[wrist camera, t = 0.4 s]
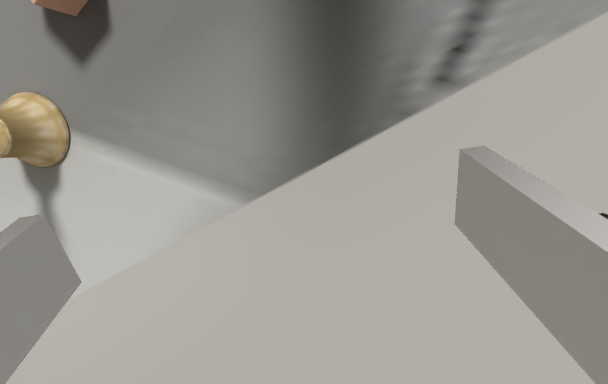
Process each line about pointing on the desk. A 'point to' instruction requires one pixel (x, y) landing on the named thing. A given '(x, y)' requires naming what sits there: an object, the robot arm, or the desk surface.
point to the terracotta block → (62, 5)
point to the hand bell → (32, 130)
